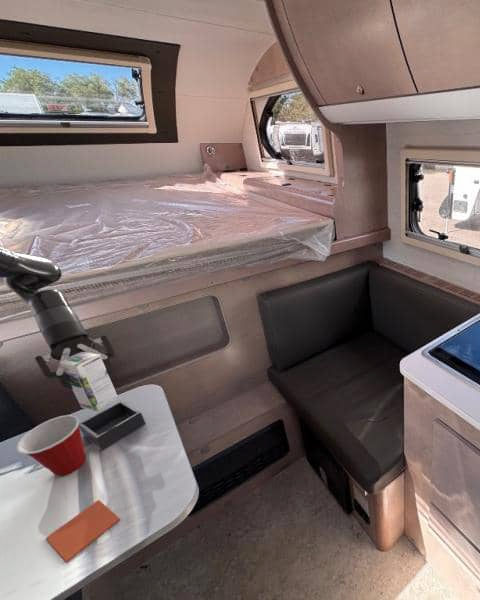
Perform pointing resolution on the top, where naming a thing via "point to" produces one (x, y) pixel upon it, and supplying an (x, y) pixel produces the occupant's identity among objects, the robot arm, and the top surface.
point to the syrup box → (89, 380)
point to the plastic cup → (55, 445)
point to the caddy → (115, 432)
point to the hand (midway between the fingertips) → (91, 380)
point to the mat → (82, 530)
